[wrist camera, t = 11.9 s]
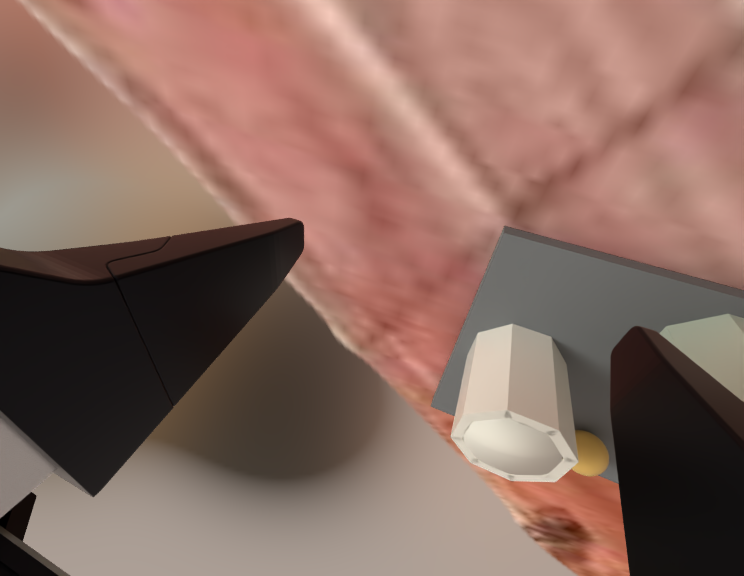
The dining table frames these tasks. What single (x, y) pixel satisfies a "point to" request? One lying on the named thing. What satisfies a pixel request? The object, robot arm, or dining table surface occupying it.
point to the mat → (579, 315)
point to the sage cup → (713, 347)
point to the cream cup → (516, 406)
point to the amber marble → (590, 454)
